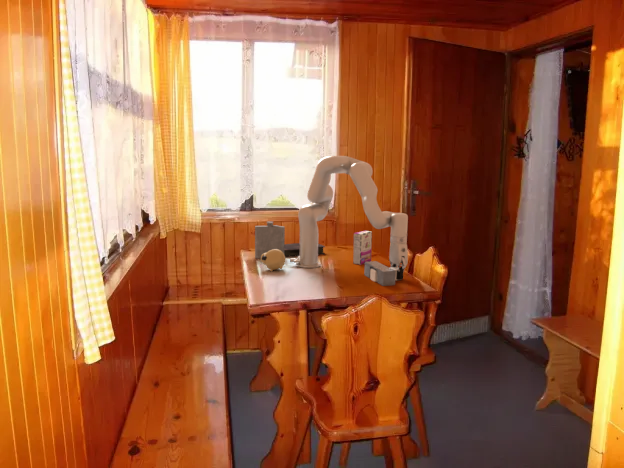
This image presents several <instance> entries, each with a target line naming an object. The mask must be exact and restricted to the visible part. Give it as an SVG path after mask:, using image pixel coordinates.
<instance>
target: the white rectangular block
mask: <svg viewBox="0 0 624 468" xmlns="http://www.w3.org/2000/svg"><path fill="white" fill-rule="evenodd" d="M388 267H389V266H388ZM389 268H391V269H393V270H395V271H396V276H395V281H398V280H397V271H398V268H397V267H391V266H390V267H389ZM377 271H378V270H376V269H375V268H373V269H371V270H370V278H369V279H370V280H371V281H372V282H375V283H377ZM402 280H403V279H401V280H400V281H402Z"/></svg>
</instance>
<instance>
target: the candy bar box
mask: <svg viewBox="0 0 624 468" xmlns="http://www.w3.org/2000/svg"><path fill="white" fill-rule="evenodd" d="M372 237H373V232H372V231H369V230H363V231H359V232H358V231H357V232H354V233H353V255H352V256H353V257H352V258H353V265H354V264H355V265H360V266H361V265H365V262H370V261H372V247H373V246H372V244H373V243H372V242H373V240H372V239H373V238H372Z"/></svg>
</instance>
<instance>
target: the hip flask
mask: <svg viewBox="0 0 624 468" xmlns="http://www.w3.org/2000/svg"><path fill="white" fill-rule="evenodd" d="M285 229H286V227H285V226H284V225H283V226H282V225H277V224H275V225H274V221H266V225H255V226H254V258H255V259H257V260H259V259H260V260H261V255H262V254H263V253H267V252H268V251H270V250H272V249H279V250H281V251H282V252H283V253H284V245H285V244H286V243H285V241H286V240H285V237H286V235H285Z"/></svg>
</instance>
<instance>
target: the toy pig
mask: <svg viewBox="0 0 624 468" xmlns="http://www.w3.org/2000/svg"><path fill="white" fill-rule="evenodd" d="M260 261H261V263H262V264H263V265H264V266H266V268H268V269H269V270H270V272H273V271H275V270H282V269H283V268H284V266H285V263H286V257H285V255H284V253H283V252H282V251H281V250H279V249H272V250H270V251H268V252H267V253H263V254H262V255H261V259H260Z"/></svg>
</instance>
